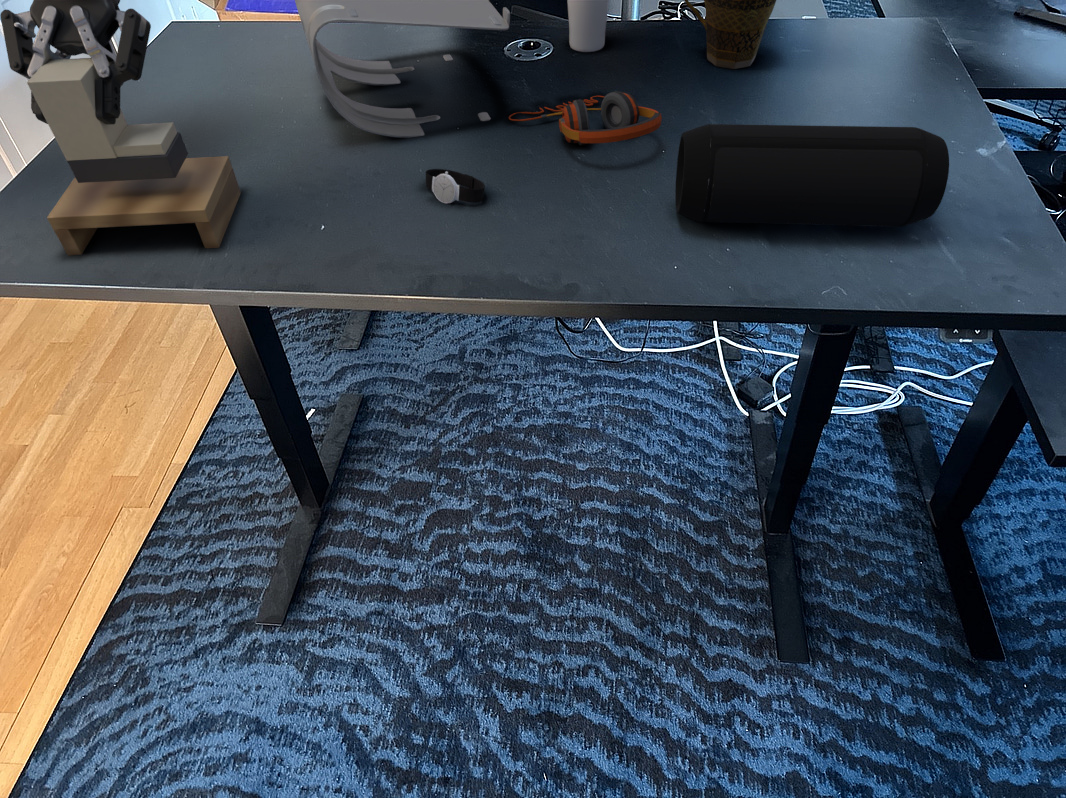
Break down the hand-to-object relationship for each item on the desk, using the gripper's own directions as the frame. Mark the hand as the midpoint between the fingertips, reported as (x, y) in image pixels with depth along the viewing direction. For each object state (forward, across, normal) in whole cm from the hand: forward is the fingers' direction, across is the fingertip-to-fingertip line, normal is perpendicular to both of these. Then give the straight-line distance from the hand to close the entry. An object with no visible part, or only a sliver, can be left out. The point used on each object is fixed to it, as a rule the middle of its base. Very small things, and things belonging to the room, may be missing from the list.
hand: (76, 121), depth 75 cm
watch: (+4, +35, +16) cm, 38 cm away
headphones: (-7, +50, +26) cm, 57 cm away
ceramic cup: (-23, +69, +42) cm, 84 cm away
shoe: (+3, +2, +6) cm, 7 cm away
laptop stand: (-14, +25, +33) cm, 44 cm away
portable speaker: (+6, +72, +13) cm, 74 cm away
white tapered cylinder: (-26, +50, +45) cm, 72 cm away
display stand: (+8, +2, +11) cm, 14 cm away
